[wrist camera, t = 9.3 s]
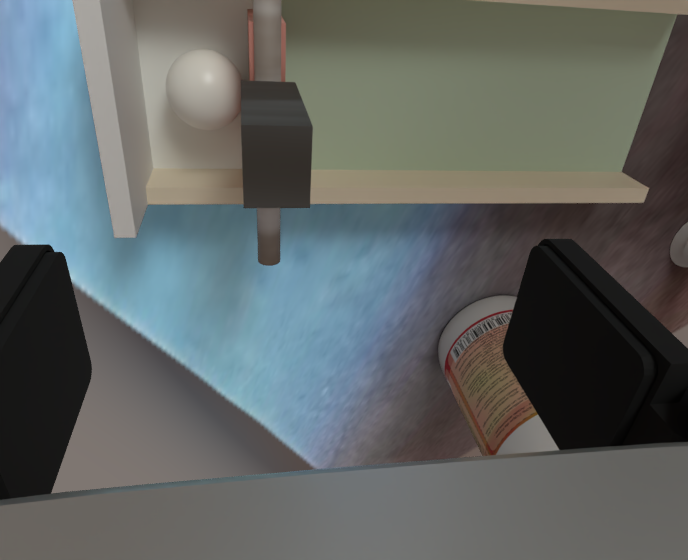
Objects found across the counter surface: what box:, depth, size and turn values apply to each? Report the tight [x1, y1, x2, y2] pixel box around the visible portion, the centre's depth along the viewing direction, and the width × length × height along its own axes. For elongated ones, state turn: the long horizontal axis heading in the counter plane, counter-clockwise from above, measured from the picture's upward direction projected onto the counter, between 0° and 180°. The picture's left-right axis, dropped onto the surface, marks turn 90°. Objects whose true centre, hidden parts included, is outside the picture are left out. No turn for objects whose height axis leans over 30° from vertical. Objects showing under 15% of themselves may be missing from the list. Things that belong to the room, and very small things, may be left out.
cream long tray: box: [72, 0, 688, 238], centre depth 29 cm, size 12×32×8 cm, turn 86°
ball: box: [166, 49, 243, 130], centre depth 28 cm, size 4×4×4 cm
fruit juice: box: [438, 295, 559, 456], centre depth 33 cm, size 9×9×28 cm
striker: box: [241, 0, 313, 266], centre depth 24 cm, size 16×2×13 cm, turn 176°
